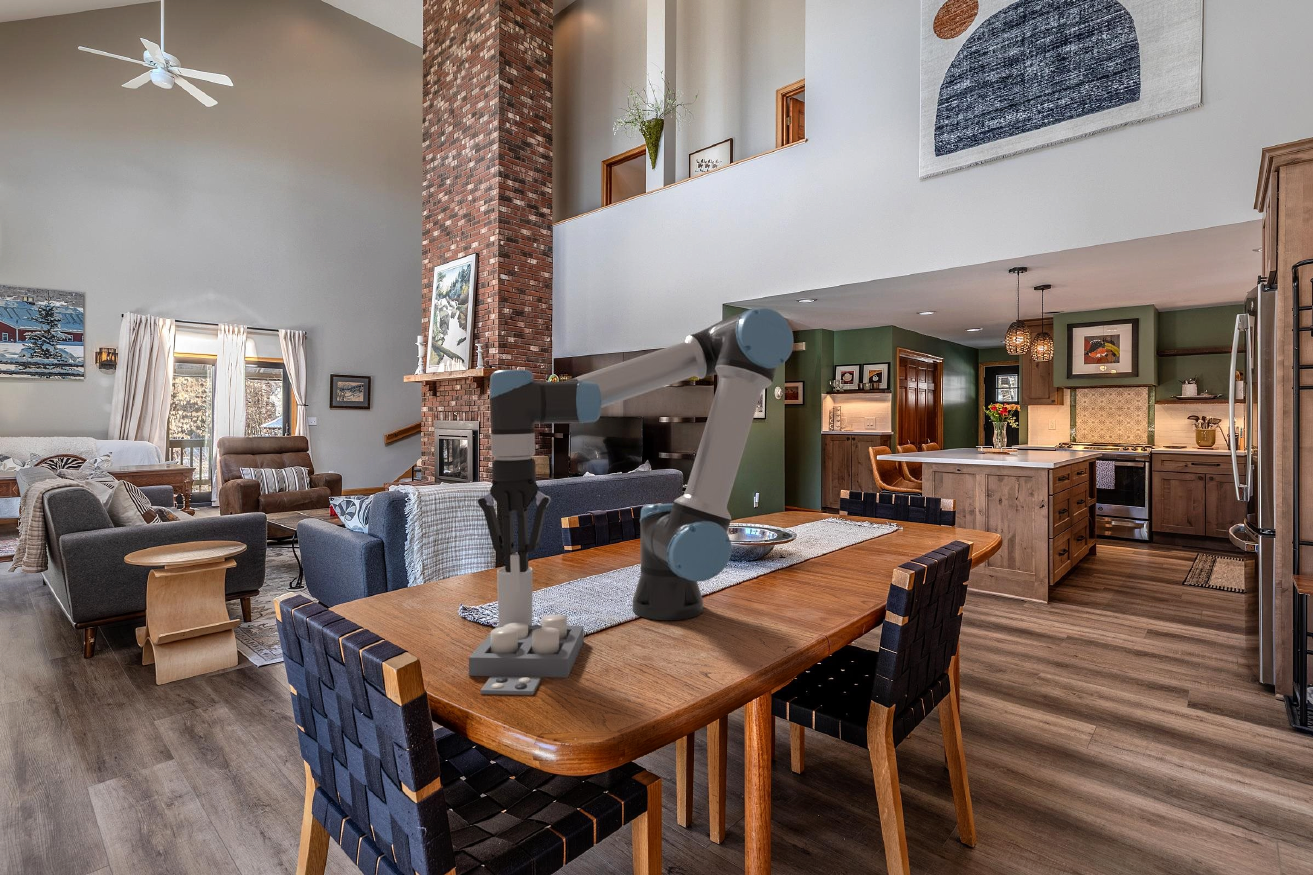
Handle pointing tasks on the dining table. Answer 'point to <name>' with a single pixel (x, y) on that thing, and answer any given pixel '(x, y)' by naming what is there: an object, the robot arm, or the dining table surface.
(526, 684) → the card
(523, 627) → the button
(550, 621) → the button
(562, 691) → the dining table surface
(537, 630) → the button
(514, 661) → the board
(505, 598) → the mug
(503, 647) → the button
